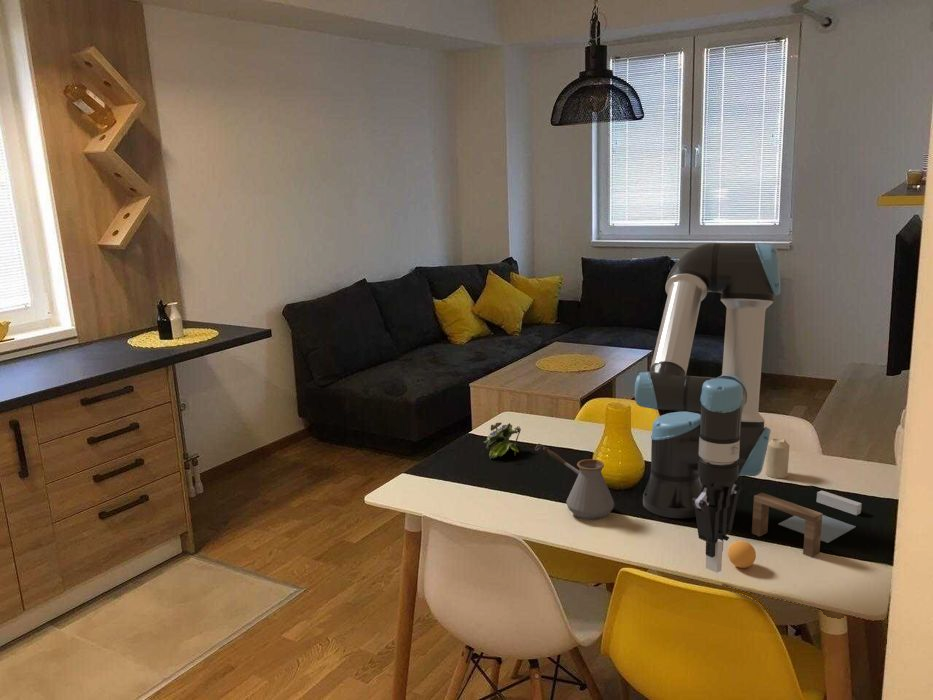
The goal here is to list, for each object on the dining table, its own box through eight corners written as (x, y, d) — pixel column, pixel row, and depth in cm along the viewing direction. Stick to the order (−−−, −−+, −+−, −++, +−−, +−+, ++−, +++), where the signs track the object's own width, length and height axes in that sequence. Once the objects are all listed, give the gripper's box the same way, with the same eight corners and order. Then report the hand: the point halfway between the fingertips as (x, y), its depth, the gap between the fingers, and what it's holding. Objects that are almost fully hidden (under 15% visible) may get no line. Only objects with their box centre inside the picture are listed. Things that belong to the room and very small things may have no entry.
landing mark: (778, 524, 183) (778, 523, 183) (806, 510, 190) (806, 509, 190) (827, 543, 174) (827, 542, 174) (855, 527, 181) (855, 526, 181)
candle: (783, 470, 214) (786, 436, 211) (790, 478, 208) (792, 443, 206) (763, 470, 214) (765, 435, 212) (768, 478, 209) (770, 443, 207)
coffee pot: (622, 511, 193) (623, 453, 189) (598, 528, 184) (599, 468, 180) (549, 490, 206) (549, 436, 202) (524, 505, 197) (523, 449, 194)
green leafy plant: (496, 467, 237) (503, 429, 241) (526, 468, 230) (533, 429, 234) (474, 456, 229) (482, 417, 233) (504, 456, 222) (512, 416, 226)
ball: (721, 565, 166) (723, 541, 165) (737, 557, 169) (739, 533, 168) (744, 575, 161) (746, 551, 160) (760, 567, 165) (762, 542, 163)
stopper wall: (816, 501, 194) (817, 492, 194) (820, 499, 195) (821, 490, 195) (856, 515, 186) (857, 505, 186) (860, 513, 188) (861, 503, 187)
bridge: (811, 557, 168) (814, 517, 166) (751, 533, 179) (753, 495, 177) (819, 553, 170) (822, 513, 167) (759, 529, 181) (761, 492, 179)
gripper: (714, 472, 147) (708, 587, 152) (755, 456, 154) (749, 566, 160) (681, 461, 153) (677, 572, 158) (722, 446, 160) (717, 552, 166)
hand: (713, 569), depth 159 cm, fingers closed
